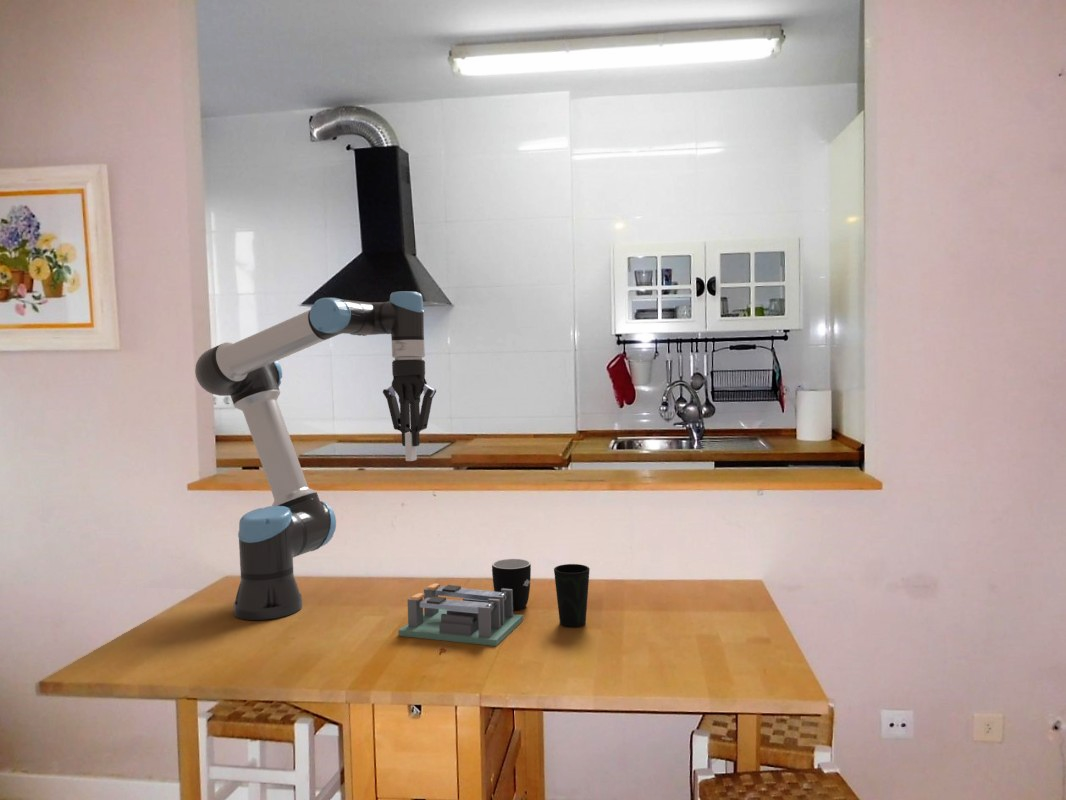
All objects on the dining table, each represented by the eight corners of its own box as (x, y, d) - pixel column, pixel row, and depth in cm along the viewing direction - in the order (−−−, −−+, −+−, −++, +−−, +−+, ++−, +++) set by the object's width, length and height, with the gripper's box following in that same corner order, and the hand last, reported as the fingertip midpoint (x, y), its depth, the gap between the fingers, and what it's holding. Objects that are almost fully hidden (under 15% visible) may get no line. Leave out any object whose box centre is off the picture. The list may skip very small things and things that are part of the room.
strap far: (435, 596, 167) (435, 588, 167) (442, 591, 170) (442, 583, 170) (502, 603, 162) (502, 596, 162) (508, 599, 165) (508, 591, 165)
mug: (528, 613, 172) (527, 569, 172) (489, 612, 174) (488, 568, 173) (536, 597, 184) (535, 555, 184) (499, 596, 185) (498, 555, 185)
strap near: (419, 608, 160) (419, 600, 160) (427, 603, 163) (427, 595, 163) (489, 615, 155) (489, 606, 155) (496, 609, 158) (496, 601, 158)
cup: (548, 626, 163) (547, 570, 163) (564, 615, 170) (563, 562, 170) (581, 631, 160) (580, 574, 159) (596, 620, 166) (595, 566, 166)
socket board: (398, 635, 159) (397, 599, 159) (432, 611, 175) (431, 579, 174) (496, 646, 152) (495, 608, 152) (523, 620, 167) (522, 586, 167)
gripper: (375, 359, 175) (378, 461, 176) (426, 358, 171) (429, 462, 172) (391, 359, 183) (394, 457, 184) (441, 358, 178) (443, 458, 179)
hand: (411, 460), depth 178 cm, fingers closed
